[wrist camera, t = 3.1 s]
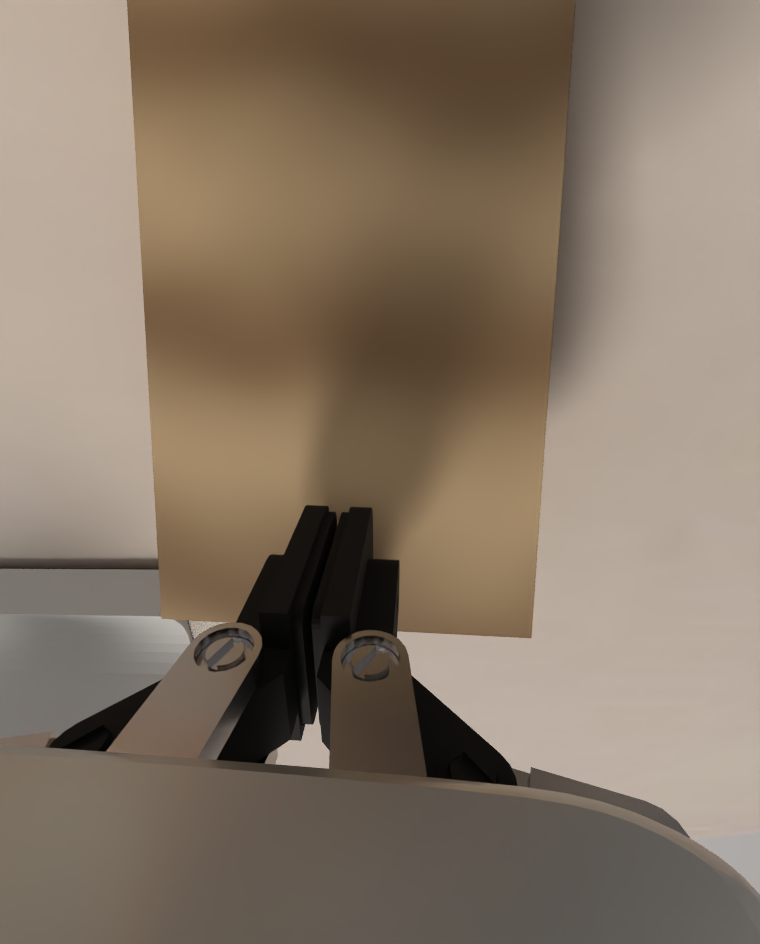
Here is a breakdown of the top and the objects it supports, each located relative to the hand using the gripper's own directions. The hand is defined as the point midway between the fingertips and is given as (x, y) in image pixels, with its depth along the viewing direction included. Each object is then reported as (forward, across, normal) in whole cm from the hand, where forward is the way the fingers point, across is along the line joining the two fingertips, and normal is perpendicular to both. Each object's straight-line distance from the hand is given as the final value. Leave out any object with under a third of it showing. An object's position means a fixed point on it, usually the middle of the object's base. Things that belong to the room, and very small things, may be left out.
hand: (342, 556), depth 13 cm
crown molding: (+8, +24, +12) cm, 28 cm away
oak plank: (+4, 0, -5) cm, 6 cm away
